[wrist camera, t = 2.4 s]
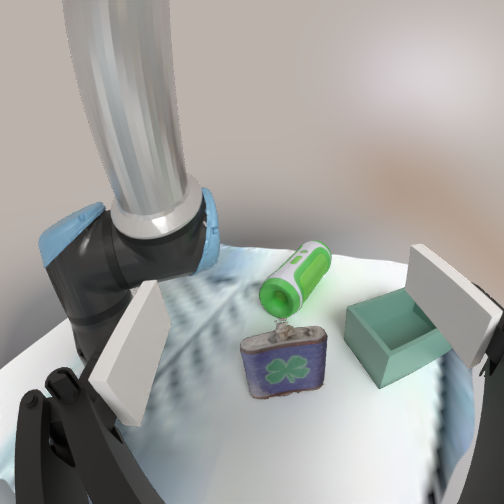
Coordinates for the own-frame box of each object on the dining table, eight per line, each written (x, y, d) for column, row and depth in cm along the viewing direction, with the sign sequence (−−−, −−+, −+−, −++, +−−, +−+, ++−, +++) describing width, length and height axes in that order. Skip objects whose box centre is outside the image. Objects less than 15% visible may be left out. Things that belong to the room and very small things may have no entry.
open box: (343, 339, 37) (346, 306, 34) (412, 312, 38) (418, 282, 36) (379, 389, 27) (389, 356, 25) (450, 349, 29) (463, 317, 27)
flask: (251, 401, 29) (236, 339, 25) (249, 383, 32) (235, 320, 28) (326, 388, 29) (331, 323, 25) (320, 372, 32) (323, 306, 28)
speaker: (302, 268, 58) (300, 235, 55) (333, 273, 54) (333, 239, 51) (259, 315, 45) (253, 276, 42) (298, 325, 41) (296, 285, 38)
